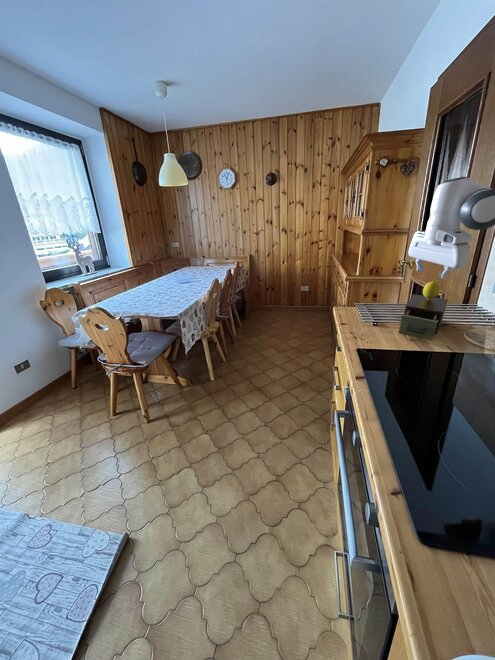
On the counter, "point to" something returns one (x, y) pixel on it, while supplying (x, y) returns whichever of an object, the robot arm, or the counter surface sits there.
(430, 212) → the robot arm
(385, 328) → the counter surface
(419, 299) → the cabinet
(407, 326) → the drawer
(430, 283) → the lemon
